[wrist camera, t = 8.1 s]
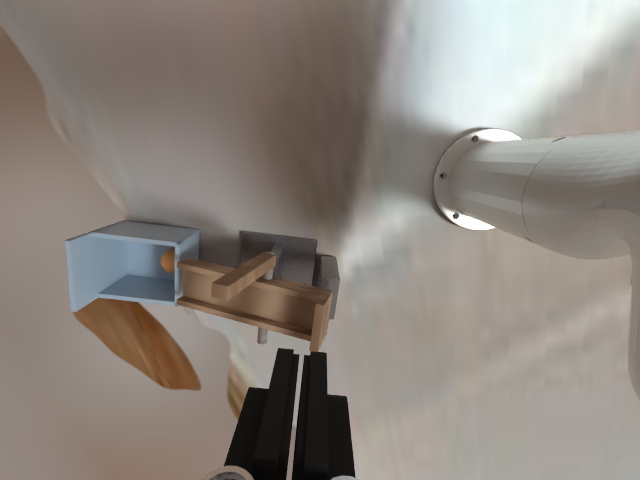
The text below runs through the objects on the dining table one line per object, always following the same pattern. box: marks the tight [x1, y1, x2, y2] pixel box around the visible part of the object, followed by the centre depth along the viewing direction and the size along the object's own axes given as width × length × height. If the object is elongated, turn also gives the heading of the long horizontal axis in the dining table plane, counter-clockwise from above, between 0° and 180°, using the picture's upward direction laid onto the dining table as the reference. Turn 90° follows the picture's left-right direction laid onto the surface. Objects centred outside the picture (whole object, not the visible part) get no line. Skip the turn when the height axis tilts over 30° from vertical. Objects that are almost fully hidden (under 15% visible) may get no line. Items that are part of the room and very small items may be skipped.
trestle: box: [240, 231, 340, 319], centre depth 38 cm, size 13×9×9 cm
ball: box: [160, 248, 175, 273], centre depth 40 cm, size 3×3×3 cm
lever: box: [177, 252, 333, 352], centre depth 29 cm, size 17×10×10 cm, turn 81°
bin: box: [65, 220, 200, 312], centre depth 37 cm, size 10×8×10 cm
